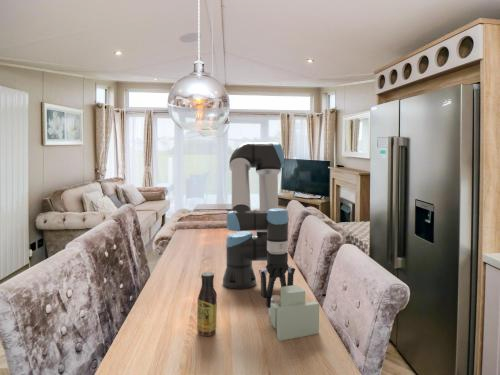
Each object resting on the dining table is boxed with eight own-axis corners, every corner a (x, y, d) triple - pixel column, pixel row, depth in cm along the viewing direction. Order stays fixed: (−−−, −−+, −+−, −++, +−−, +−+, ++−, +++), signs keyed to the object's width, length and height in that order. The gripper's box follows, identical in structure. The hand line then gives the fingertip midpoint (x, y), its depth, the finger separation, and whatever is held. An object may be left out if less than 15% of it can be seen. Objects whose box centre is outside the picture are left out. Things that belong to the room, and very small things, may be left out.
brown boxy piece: (268, 311, 132) (268, 294, 131) (277, 310, 133) (277, 293, 132) (281, 326, 120) (281, 307, 120) (292, 324, 122) (292, 305, 121)
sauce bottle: (193, 333, 115) (192, 273, 114) (206, 326, 120) (206, 269, 119) (207, 339, 111) (206, 278, 110) (221, 331, 116) (220, 272, 115)
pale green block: (265, 324, 121) (265, 284, 120) (301, 317, 126) (301, 279, 125) (279, 340, 110) (279, 297, 109) (318, 333, 115) (319, 291, 114)
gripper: (258, 256, 121) (258, 322, 122) (303, 252, 127) (302, 315, 128) (251, 251, 128) (251, 314, 129) (294, 247, 134) (293, 307, 135)
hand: (276, 314), depth 129 cm, fingers open, 4 cm apart
